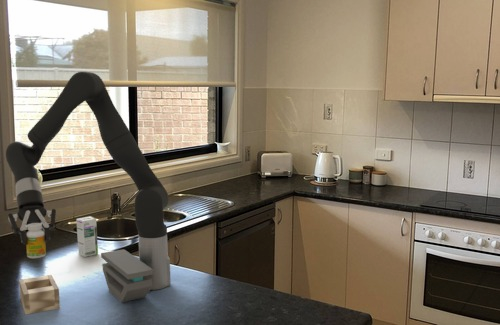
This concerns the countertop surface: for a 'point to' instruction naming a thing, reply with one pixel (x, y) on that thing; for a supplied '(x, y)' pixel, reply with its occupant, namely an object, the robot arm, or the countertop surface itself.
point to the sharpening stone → (126, 275)
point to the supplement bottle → (35, 241)
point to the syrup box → (87, 236)
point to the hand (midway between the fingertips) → (36, 242)
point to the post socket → (39, 294)
